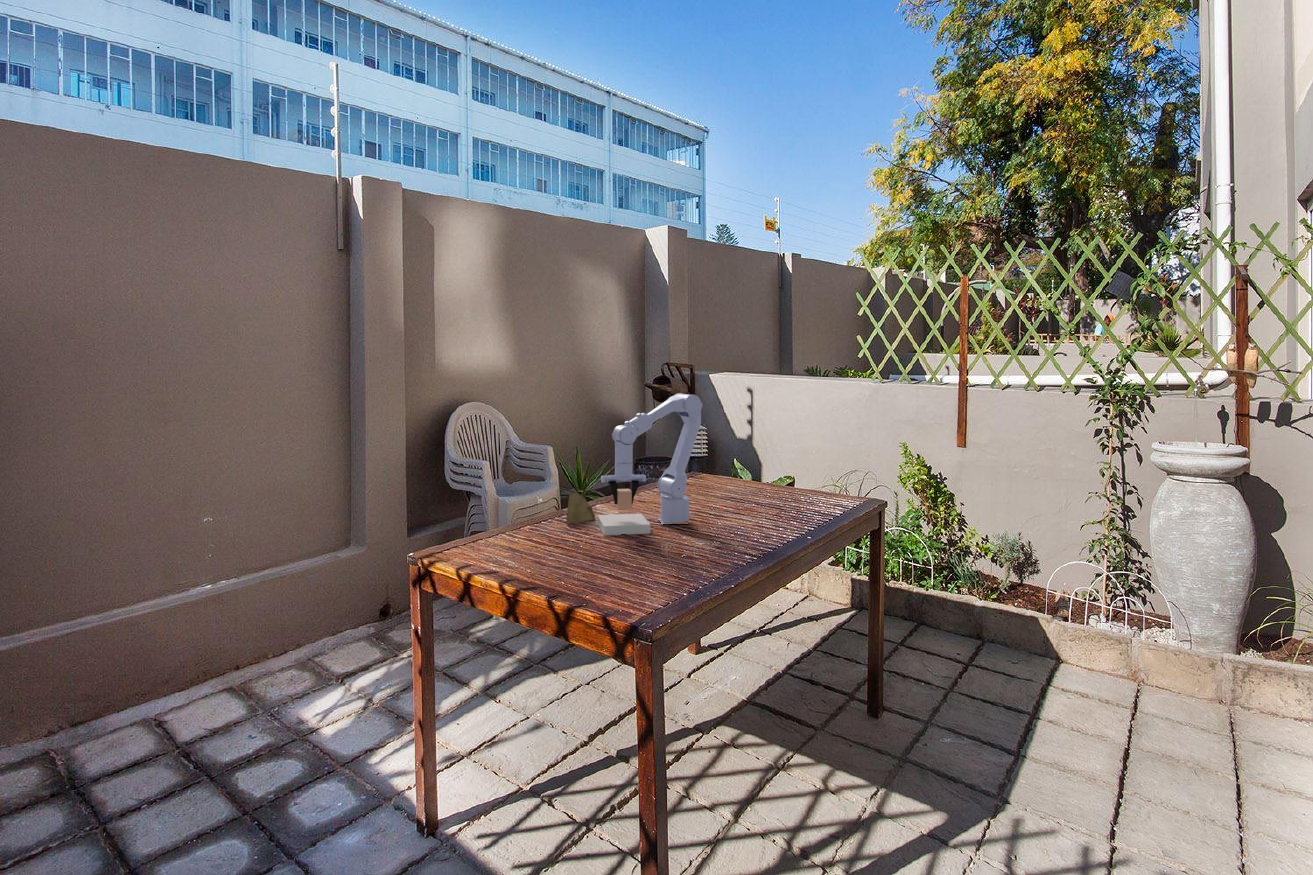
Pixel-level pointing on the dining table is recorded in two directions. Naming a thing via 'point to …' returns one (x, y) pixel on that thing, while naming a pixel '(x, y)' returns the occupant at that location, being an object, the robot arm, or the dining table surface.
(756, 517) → the dining table surface
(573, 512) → the rock
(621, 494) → the terracotta block
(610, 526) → the base plinth
